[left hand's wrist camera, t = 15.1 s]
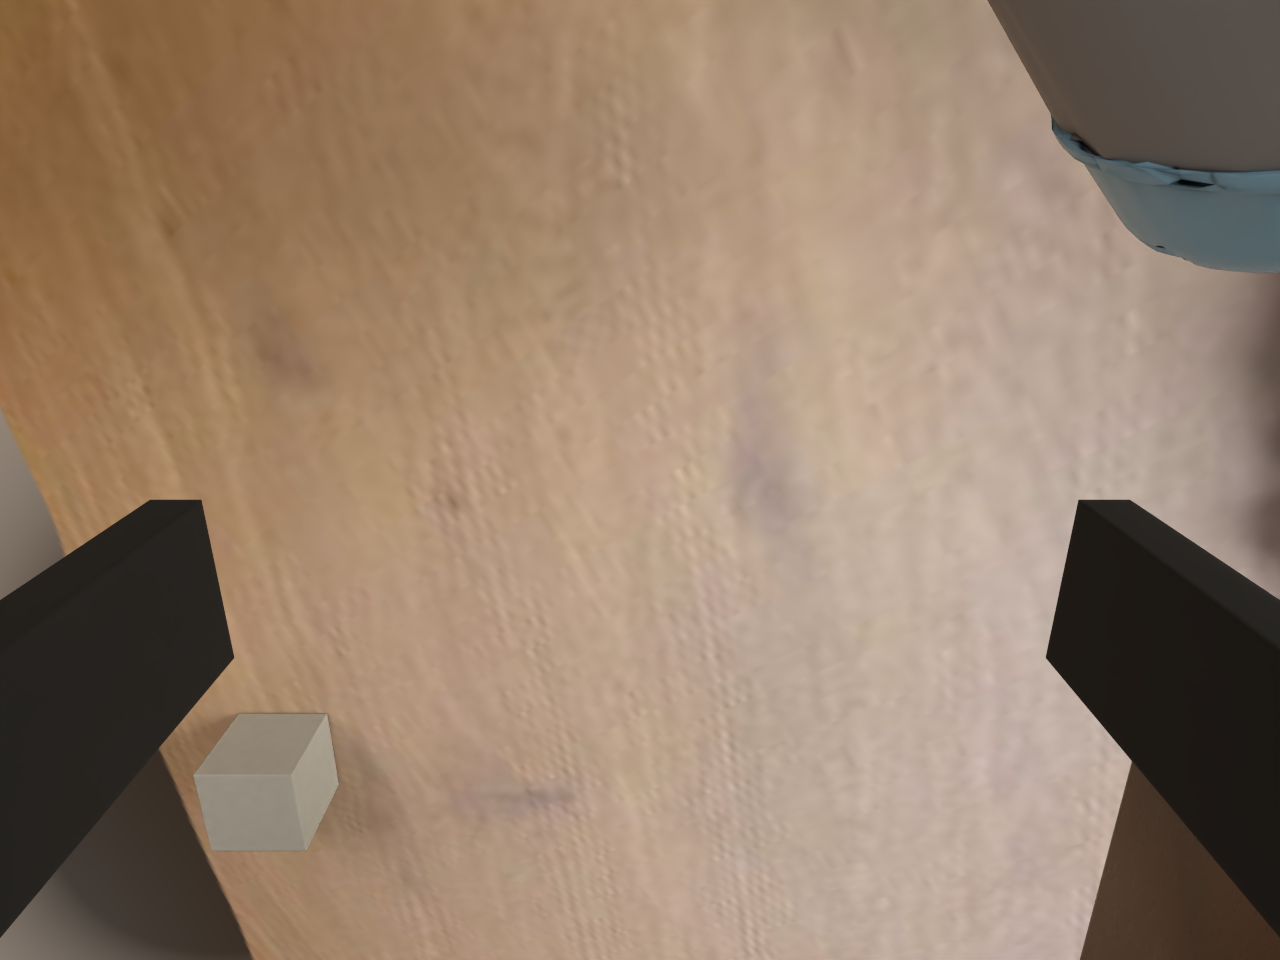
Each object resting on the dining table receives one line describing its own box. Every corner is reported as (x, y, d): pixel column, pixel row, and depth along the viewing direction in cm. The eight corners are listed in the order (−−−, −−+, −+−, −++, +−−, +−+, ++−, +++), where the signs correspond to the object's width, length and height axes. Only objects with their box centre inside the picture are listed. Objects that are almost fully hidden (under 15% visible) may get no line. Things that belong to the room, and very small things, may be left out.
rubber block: (238, 713, 45) (192, 775, 41) (327, 713, 45) (291, 775, 41) (253, 784, 47) (211, 851, 42) (339, 784, 47) (306, 851, 42)
